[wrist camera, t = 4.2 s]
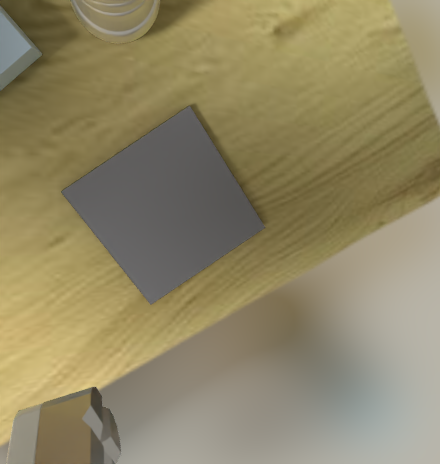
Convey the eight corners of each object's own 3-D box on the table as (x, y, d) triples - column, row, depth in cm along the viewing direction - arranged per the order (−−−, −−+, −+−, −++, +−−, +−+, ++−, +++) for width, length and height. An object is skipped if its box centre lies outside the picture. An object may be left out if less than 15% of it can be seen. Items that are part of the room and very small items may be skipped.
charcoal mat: (150, 301, 40) (150, 304, 40) (62, 190, 36) (61, 192, 35) (263, 225, 40) (265, 227, 40) (188, 105, 36) (189, 105, 35)
